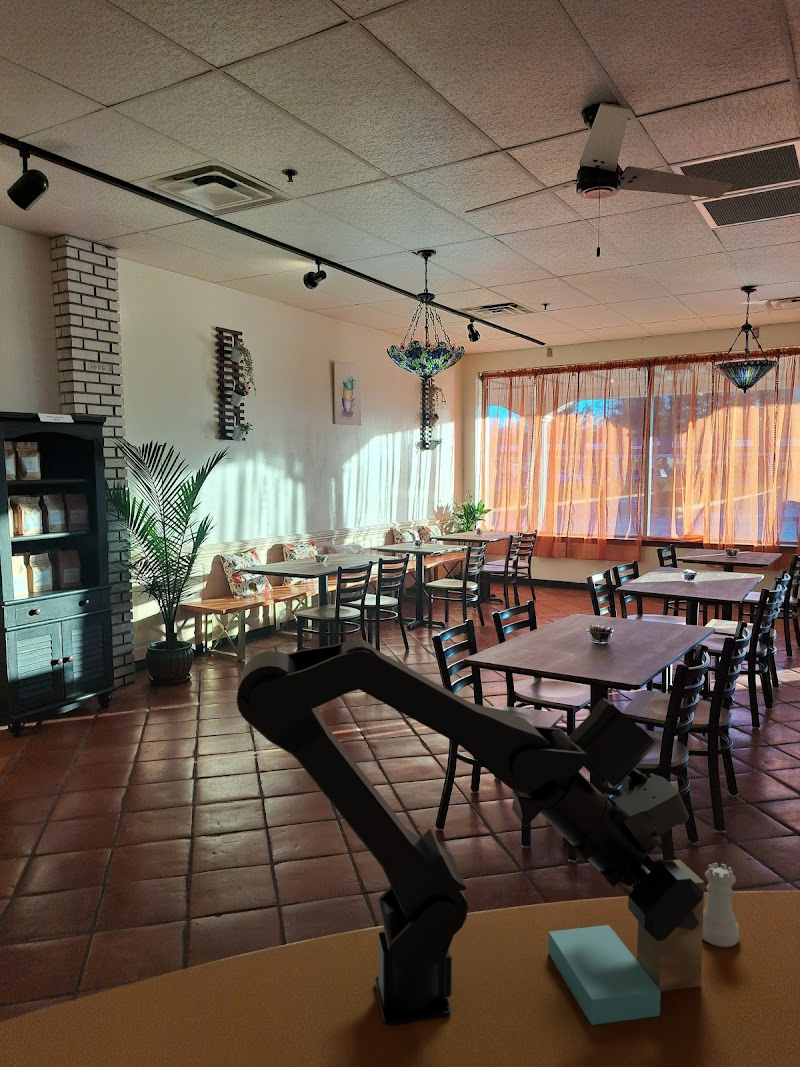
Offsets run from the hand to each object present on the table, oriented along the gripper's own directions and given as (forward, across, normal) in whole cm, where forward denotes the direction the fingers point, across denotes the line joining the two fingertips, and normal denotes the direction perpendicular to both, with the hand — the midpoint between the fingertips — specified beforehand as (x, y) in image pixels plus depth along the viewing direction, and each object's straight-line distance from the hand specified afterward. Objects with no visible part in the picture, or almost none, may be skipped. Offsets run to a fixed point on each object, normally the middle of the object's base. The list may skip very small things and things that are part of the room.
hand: (682, 912), depth 80 cm
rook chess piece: (+10, +5, 0) cm, 11 cm away
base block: (-2, 0, +11) cm, 11 cm away
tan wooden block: (+4, 0, +6) cm, 7 cm away
